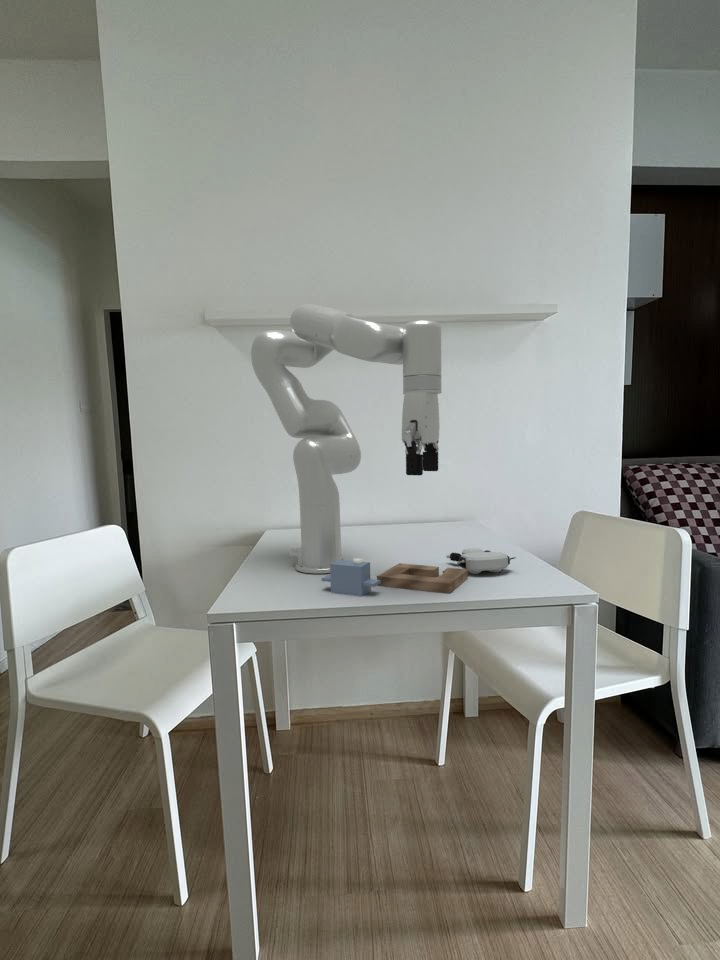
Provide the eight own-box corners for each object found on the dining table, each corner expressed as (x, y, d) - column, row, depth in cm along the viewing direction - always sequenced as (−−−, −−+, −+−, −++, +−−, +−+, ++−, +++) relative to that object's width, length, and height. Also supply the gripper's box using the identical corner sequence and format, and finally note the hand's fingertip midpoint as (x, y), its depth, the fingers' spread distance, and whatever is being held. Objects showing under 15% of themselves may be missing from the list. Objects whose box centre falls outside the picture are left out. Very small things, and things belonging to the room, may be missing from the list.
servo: (320, 591, 113) (319, 558, 112) (330, 586, 116) (329, 553, 116) (373, 598, 107) (372, 562, 107) (381, 592, 111) (380, 558, 110)
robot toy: (443, 567, 133) (464, 578, 118) (442, 548, 133) (463, 557, 118) (491, 564, 135) (518, 574, 120) (491, 545, 135) (517, 554, 120)
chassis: (377, 585, 116) (376, 576, 116) (399, 571, 126) (399, 563, 126) (450, 593, 108) (450, 583, 108) (467, 578, 119) (467, 569, 119)
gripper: (418, 389, 118) (419, 469, 119) (387, 384, 102) (388, 476, 104) (453, 387, 114) (453, 469, 116) (426, 382, 99) (426, 477, 100)
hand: (422, 473), depth 110 cm, fingers open, 9 cm apart
